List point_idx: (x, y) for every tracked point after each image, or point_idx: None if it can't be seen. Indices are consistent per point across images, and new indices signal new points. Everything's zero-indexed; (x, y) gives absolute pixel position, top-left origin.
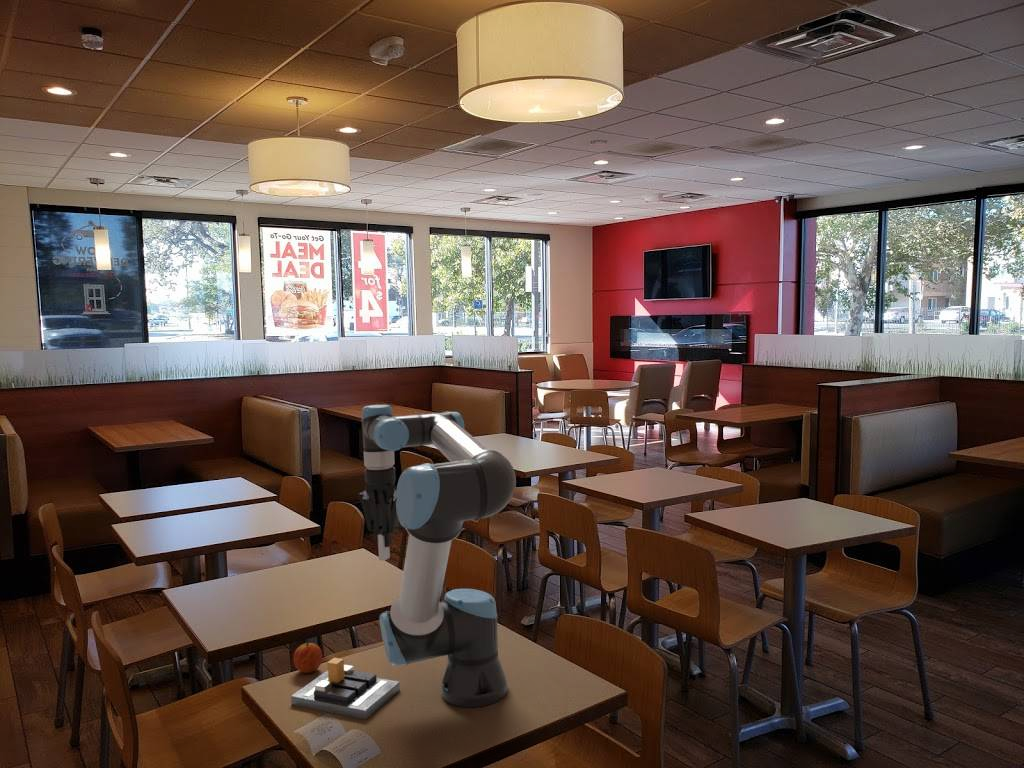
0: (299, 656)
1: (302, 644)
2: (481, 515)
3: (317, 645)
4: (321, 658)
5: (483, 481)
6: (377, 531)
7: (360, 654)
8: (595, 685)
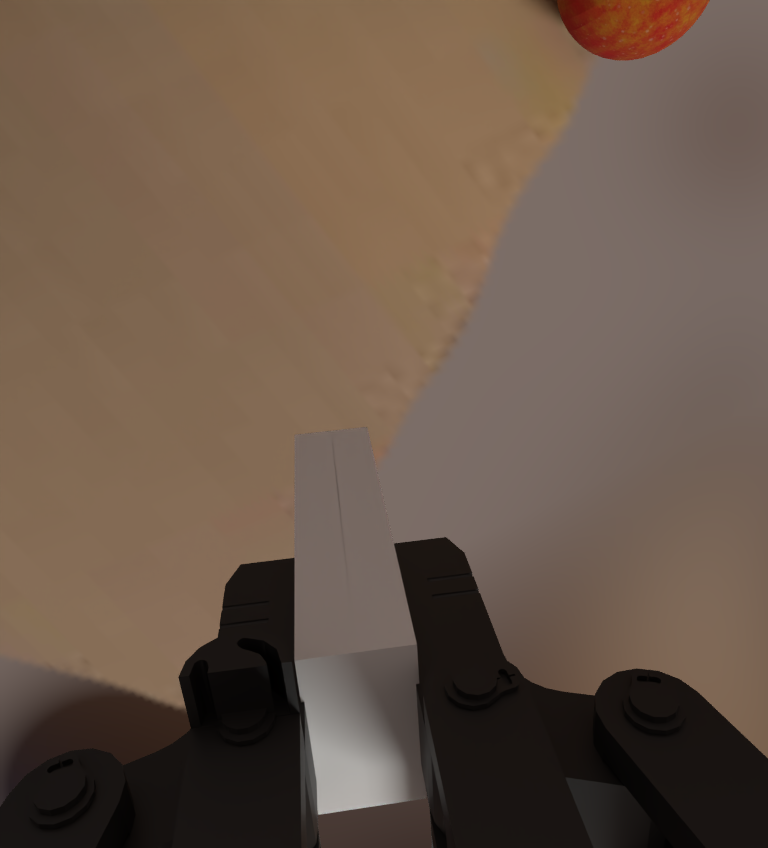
0: None
1: None
2: None
3: (625, 26)
4: (562, 5)
5: None
6: (438, 703)
7: (474, 250)
8: None
